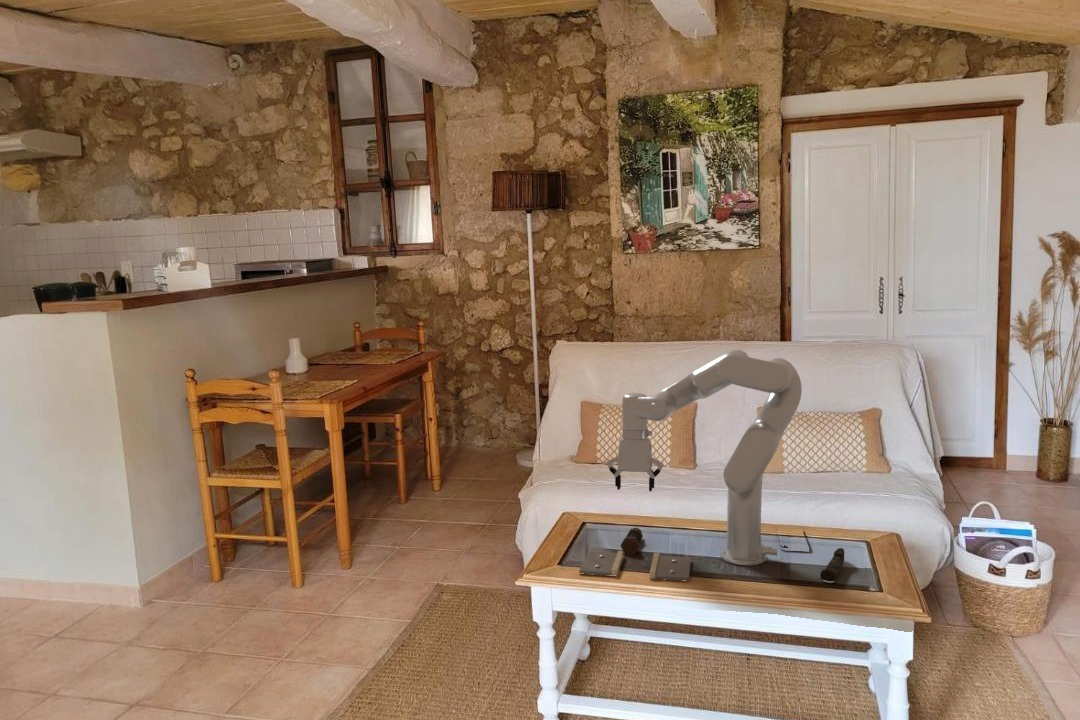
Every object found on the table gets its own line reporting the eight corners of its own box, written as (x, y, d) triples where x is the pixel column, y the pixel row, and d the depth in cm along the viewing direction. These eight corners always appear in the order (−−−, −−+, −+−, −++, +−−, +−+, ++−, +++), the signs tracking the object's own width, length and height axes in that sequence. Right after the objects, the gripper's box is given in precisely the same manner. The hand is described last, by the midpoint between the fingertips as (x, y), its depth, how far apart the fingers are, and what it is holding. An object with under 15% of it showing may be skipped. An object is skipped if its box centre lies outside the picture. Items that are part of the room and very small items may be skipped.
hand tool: (835, 586, 211) (835, 569, 211) (819, 583, 214) (820, 566, 213) (852, 563, 227) (852, 547, 226) (837, 560, 229) (838, 545, 229)
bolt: (639, 543, 251) (632, 559, 237) (625, 535, 252) (617, 549, 238) (648, 528, 250) (642, 543, 235) (634, 520, 251) (627, 534, 236)
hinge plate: (690, 561, 230) (690, 555, 230) (688, 581, 215) (688, 574, 215) (588, 555, 237) (588, 548, 236) (579, 574, 222) (579, 567, 222)
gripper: (664, 432, 241) (664, 487, 244) (608, 430, 245) (608, 484, 247) (662, 438, 234) (662, 494, 236) (604, 435, 238) (604, 491, 240)
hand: (634, 489), depth 242 cm, fingers open, 9 cm apart
